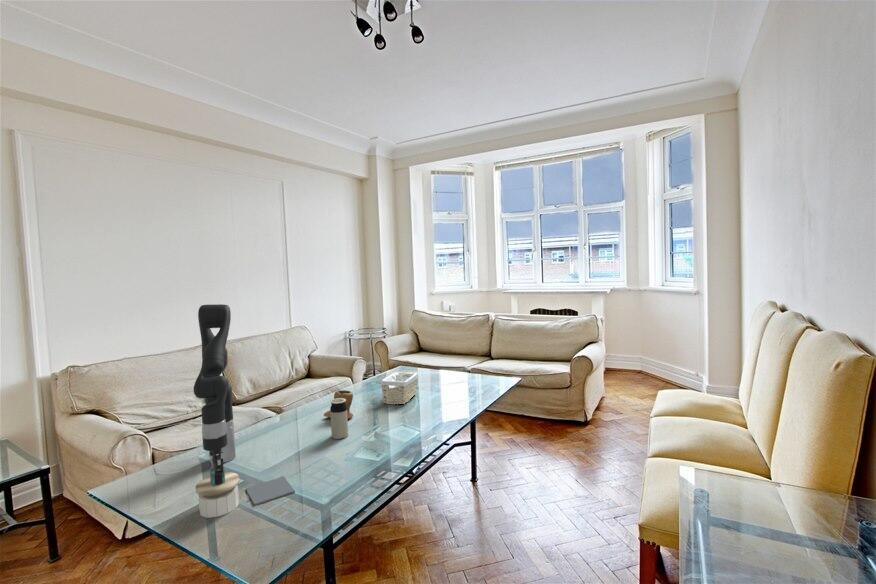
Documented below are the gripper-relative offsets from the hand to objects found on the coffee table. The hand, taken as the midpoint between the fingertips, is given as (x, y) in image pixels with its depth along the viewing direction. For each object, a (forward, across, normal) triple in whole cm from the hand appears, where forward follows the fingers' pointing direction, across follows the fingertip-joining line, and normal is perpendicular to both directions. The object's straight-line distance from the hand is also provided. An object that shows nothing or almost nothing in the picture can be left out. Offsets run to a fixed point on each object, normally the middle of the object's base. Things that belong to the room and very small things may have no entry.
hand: (217, 481), depth 147 cm
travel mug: (+10, -32, +58) cm, 67 cm away
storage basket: (+10, -62, +111) cm, 127 cm away
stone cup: (+10, -57, +69) cm, 90 cm away
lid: (+1, 0, 0) cm, 1 cm away
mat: (+9, 0, +17) cm, 19 cm away
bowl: (+9, 0, 0) cm, 9 cm away
